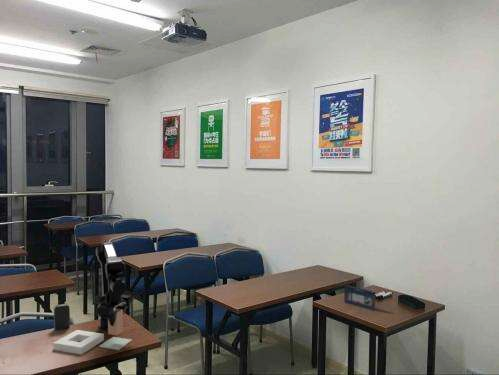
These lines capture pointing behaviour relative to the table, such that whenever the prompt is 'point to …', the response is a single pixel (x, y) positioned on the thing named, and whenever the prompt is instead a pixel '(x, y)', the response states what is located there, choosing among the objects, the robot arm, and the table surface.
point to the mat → (115, 343)
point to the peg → (116, 323)
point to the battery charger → (61, 316)
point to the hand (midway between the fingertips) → (115, 323)
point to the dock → (73, 346)
